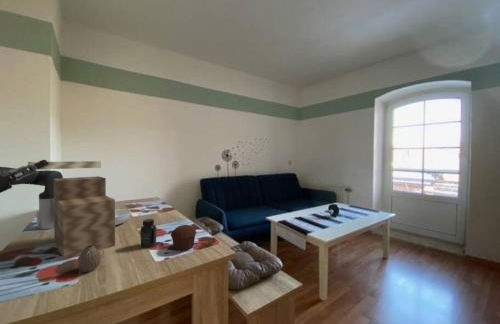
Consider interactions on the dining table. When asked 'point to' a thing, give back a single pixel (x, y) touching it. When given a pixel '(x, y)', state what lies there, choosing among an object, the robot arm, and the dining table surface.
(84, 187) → the walnut stand
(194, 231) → the muffin
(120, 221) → the serving bowl
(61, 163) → the birch rod
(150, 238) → the supplement bottle
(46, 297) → the dining table surface
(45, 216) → the robot arm
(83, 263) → the brown egg-shaped lump
